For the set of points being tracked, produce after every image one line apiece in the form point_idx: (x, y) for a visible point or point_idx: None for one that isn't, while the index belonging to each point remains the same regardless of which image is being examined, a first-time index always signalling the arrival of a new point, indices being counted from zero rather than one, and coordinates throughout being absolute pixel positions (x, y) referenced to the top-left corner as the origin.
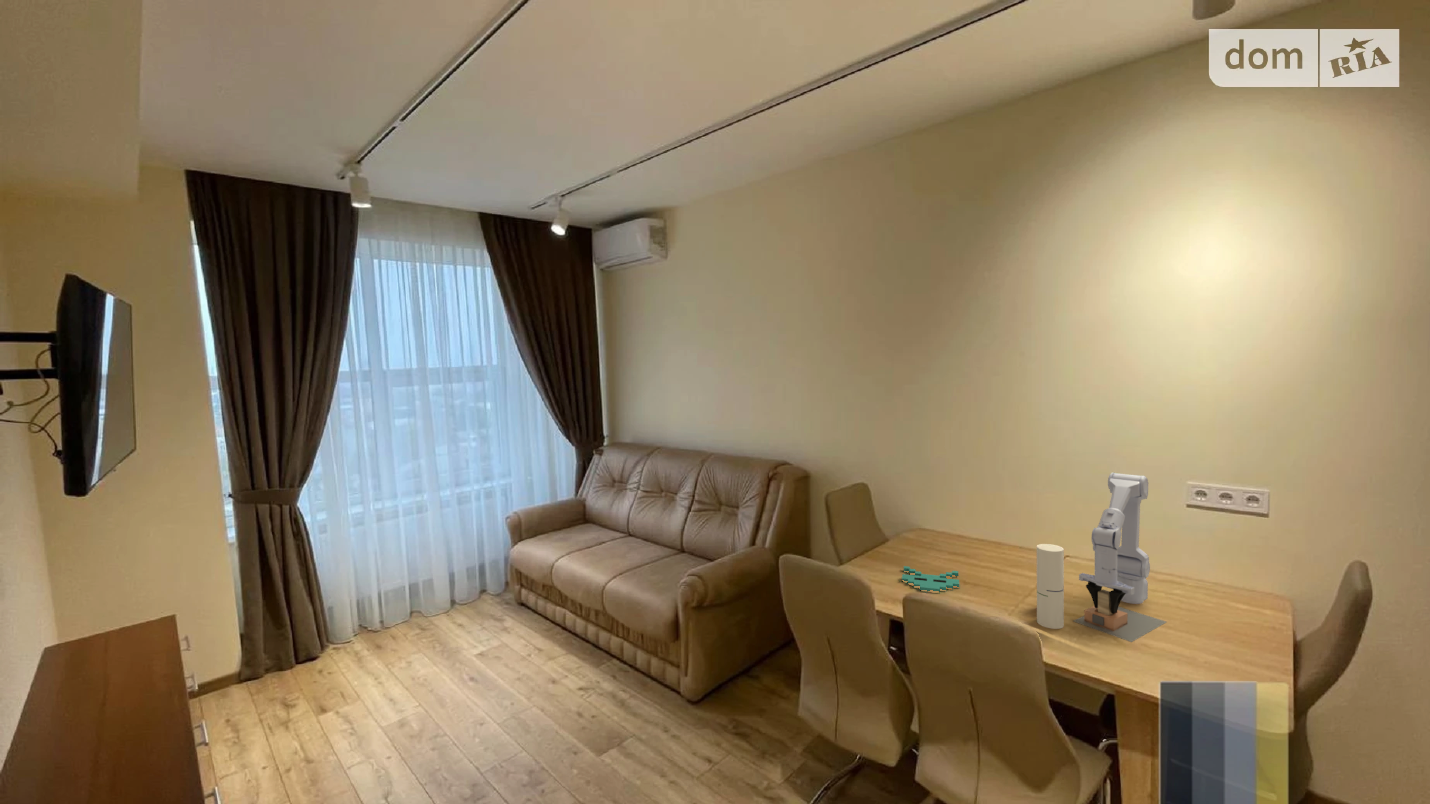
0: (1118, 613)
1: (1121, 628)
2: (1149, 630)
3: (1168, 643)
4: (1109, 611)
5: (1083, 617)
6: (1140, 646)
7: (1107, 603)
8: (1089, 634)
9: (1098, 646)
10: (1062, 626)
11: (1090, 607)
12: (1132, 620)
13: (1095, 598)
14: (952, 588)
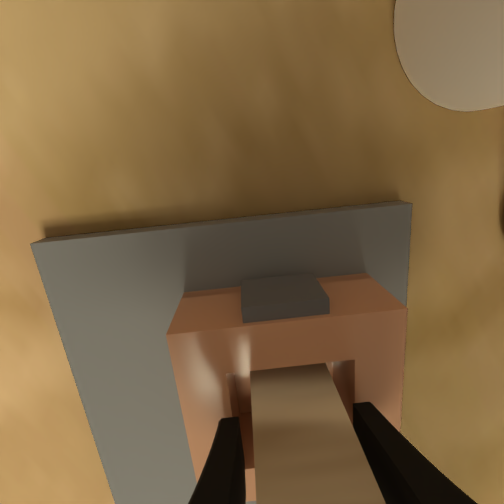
0: None
1: None
2: (107, 455)
3: (3, 419)
4: (252, 420)
5: None
6: (19, 271)
7: (268, 486)
8: (259, 152)
9: (111, 16)
10: (413, 9)
11: (401, 393)
12: None
13: (408, 487)
14: None
